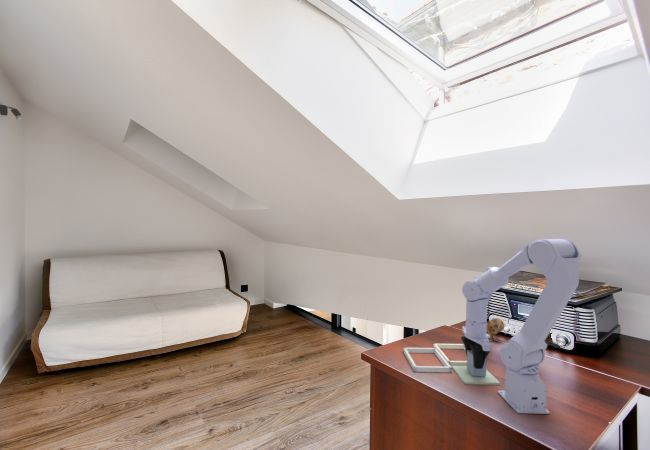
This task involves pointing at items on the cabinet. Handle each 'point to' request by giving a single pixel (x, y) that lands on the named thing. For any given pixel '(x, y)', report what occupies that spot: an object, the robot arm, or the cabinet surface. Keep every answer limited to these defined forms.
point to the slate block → (471, 365)
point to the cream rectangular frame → (451, 346)
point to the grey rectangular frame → (427, 368)
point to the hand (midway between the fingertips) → (474, 364)
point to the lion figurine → (494, 327)
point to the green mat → (475, 377)
